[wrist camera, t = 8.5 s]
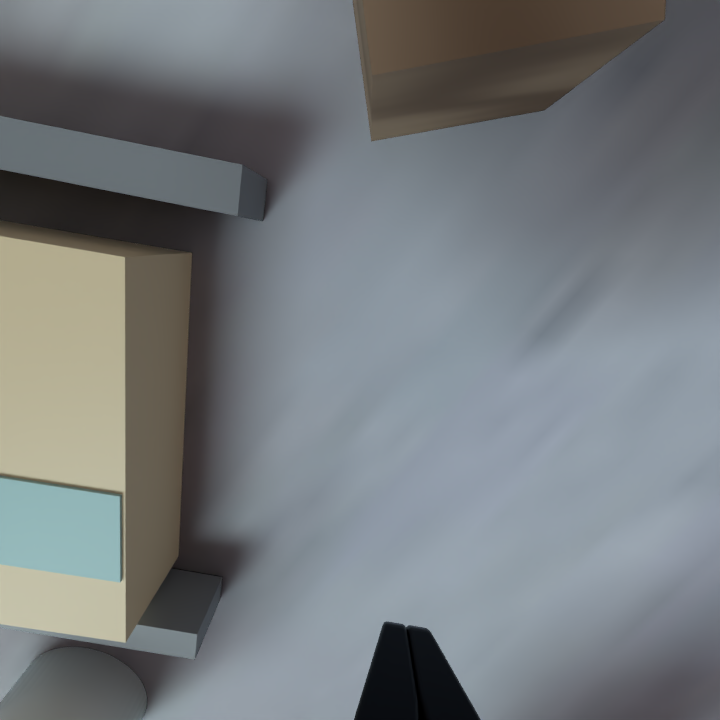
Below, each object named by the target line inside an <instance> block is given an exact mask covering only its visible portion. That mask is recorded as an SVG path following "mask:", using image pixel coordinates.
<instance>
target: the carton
mask: <svg viewBox="0 0 720 720" xmlns="http://www.w3.org/2000/svg"><path fill="white" fill-rule="evenodd" d="M191 266H192V253H190V252H184V251H179V250H173V249H167V248H161V247H155V246H149V245H143V244H137V243H132V242H126V241H120V240H114V239H108V238H102V237H96V236H90V235H84V234H79V233H73V232H67V231H61V230H55V229H49V228H43V227H37V226H31V225H26V224H20V223H14V222H8V221H2V220H0V624H3V625H9V626H16V627H23V628H29V629H36V630H43V631H50V632H56V633H63V634H70V635H77V636H83V637H90V638H97V639H104V640H110V641H117V642H124V643H126V641H127V640H128V638H129V636H130V635H131V633H132V632H133V630H134V628H135V627H136V625H137V623H138V622H139V620H140V618H141V617H142V615H143V614H144V612H145V610H146V609H147V607H148V605H149V604H150V602H151V600H152V599H153V597H154V596H155V594H156V592H157V591H158V589H159V587H160V586H161V584H162V582H163V581H164V579H165V578H166V576H167V574H168V573H169V571H170V569H171V568H172V566H173V564H174V563H175V561H176V559H177V558H178V556H179V535H180V512H181V490H182V467H183V445H184V422H185V400H186V378H187V355H188V333H189V310H190V288H191Z"/></svg>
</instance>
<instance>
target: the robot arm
mask: <svg viewBox="0 0 720 720" xmlns="http://www.w3.org/2000/svg"><path fill="white" fill-rule="evenodd" d="M354 720H481V719H480V718H479V716H478V714H477V712H476V711H475V709H474V707H473V705H472V704H471V702H470V700H469V698H468V697H467V695H466V693H465V691H464V690H463V688H462V686H461V684H460V683H459V681H458V679H457V677H456V675H455V674H454V672H453V670H452V668H451V667H450V665H449V663H448V661H447V660H446V658H445V656H444V654H443V653H442V651H441V649H440V647H439V646H438V644H437V642H436V640H435V639H434V637H433V635H432V633H431V632H430V631H429V630H428V629H427V628H423V627H417V626H411V625H409V626H407V627H405V626H404V625H403V624H399V623H393V622H384V624H383V626H382V629H381V633H380V636H379V639H378V643H377V646H376V649H375V652H374V656H373V659H372V662H371V666H370V669H369V672H368V675H367V679H366V682H365V685H364V688H363V692H362V695H361V698H360V702H359V705H358V708H357V711H356V715H355V718H354Z"/></svg>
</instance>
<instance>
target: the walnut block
mask: <svg viewBox="0 0 720 720" xmlns="http://www.w3.org/2000/svg"><path fill="white" fill-rule="evenodd" d="M353 6H354V14H355V21H356V29H357V36H358V44H359V51H360V59H361V66H362V74H363V81H364V89H365V96H366V104H367V111H368V119H369V126H370V134H371V141H375V140H381V139H387V138H392V137H398V136H403V135H409V134H415V133H420V132H426V131H431V130H437V129H442V128H448V127H454V126H459V125H465V124H470V123H476V122H482V121H487V120H493V119H498V118H504V117H510V116H515V115H521V114H526V113H532V112H537V111H543V110H545V109H547V108H548V107H549V106H551V105H552V104H553V103H555V102H556V101H557V100H559V99H560V98H561V97H563V96H564V95H565V94H567V93H568V92H569V91H571V90H572V89H573V88H575V87H576V86H577V85H579V84H580V83H581V82H583V81H584V80H585V79H587V78H588V77H589V76H591V75H592V74H593V73H595V72H596V71H597V70H599V69H600V68H601V67H603V66H604V65H605V64H607V63H608V62H609V61H611V60H612V59H613V58H615V57H616V56H617V55H619V54H620V53H621V52H623V51H624V50H625V49H627V48H628V47H629V46H631V45H632V44H633V43H634V42H636V41H637V40H638V39H640V38H641V37H642V36H644V35H645V34H646V33H648V32H649V31H650V30H652V29H653V28H654V27H656V26H657V25H658V24H660V23H661V22H662V21H664V20H665V7H666V0H353Z"/></svg>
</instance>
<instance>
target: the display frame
mask: <svg viewBox="0 0 720 720" xmlns="http://www.w3.org/2000/svg"><path fill="white" fill-rule="evenodd" d="M0 169H1V170H6V171H11V172H16V173H21V174H26V175H31V176H37V177H42V178H47V179H52V180H57V181H62V182H67V183H72V184H77V185H82V186H87V187H92V188H97V189H102V190H107V191H113V192H118V193H123V194H128V195H133V196H138V197H143V198H148V199H153V200H158V201H163V202H168V203H173V204H178V205H183V206H189V207H194V208H199V209H204V210H209V211H214V212H219V213H224V214H229V215H234V216H239V217H244V218H250V219H255V220H260V221H263V215H264V206H265V198H266V189H267V179H265V178H264V177H262V176H260V175H259V174H257V173H255V172H254V171H252V170H250V169H249V168H247V167H246V166H244V165H242V164H237V163H232V162H227V161H222V160H217V159H212V158H207V157H202V156H197V155H192V154H187V153H182V152H177V151H172V150H167V149H162V148H157V147H152V146H147V145H142V144H137V143H133V142H128V141H123V140H118V139H113V138H108V137H103V136H98V135H93V134H88V133H83V132H78V131H73V130H68V129H63V128H58V127H53V126H48V125H43V124H38V123H33V122H28V121H23V120H18V119H13V118H8V117H3V116H0ZM221 585H222V577H219V576H213V575H207V574H201V573H195V572H189V571H183V570H177V569H170V571H169V573H168V574H167V576H166V578H165V579H164V581H163V582H162V584H161V586H160V587H159V589H158V591H157V592H156V594H155V596H154V597H153V599H152V600H151V602H150V604H149V605H148V607H147V609H146V610H145V612H144V614H143V615H142V617H141V618H140V620H139V622H138V623H137V625H136V627H135V628H134V630H133V632H132V633H131V635H130V636H129V638H128V640H127V641H126V643H124V642H117V641H110V640H104V639H97V638H90V637H83V636H77V635H70V634H63V633H56V632H50V631H43V630H36V629H29V628H23V627H16V626H9V625H3V624H0V628H4V629H10V630H16V631H22V632H29V633H35V634H41V635H47V636H53V637H59V638H65V639H72V640H78V641H84V642H90V643H96V644H102V645H108V646H114V647H121V648H127V649H133V650H139V651H145V652H151V653H157V654H163V655H170V656H176V657H182V658H188V659H194V660H195V658H196V655H197V653H198V651H199V648H200V646H201V644H202V641H203V639H204V636H205V634H206V632H207V629H208V627H209V624H210V622H211V620H212V617H213V615H214V612H215V610H216V608H217V605H218V603H219V601H220V593H221Z"/></svg>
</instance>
